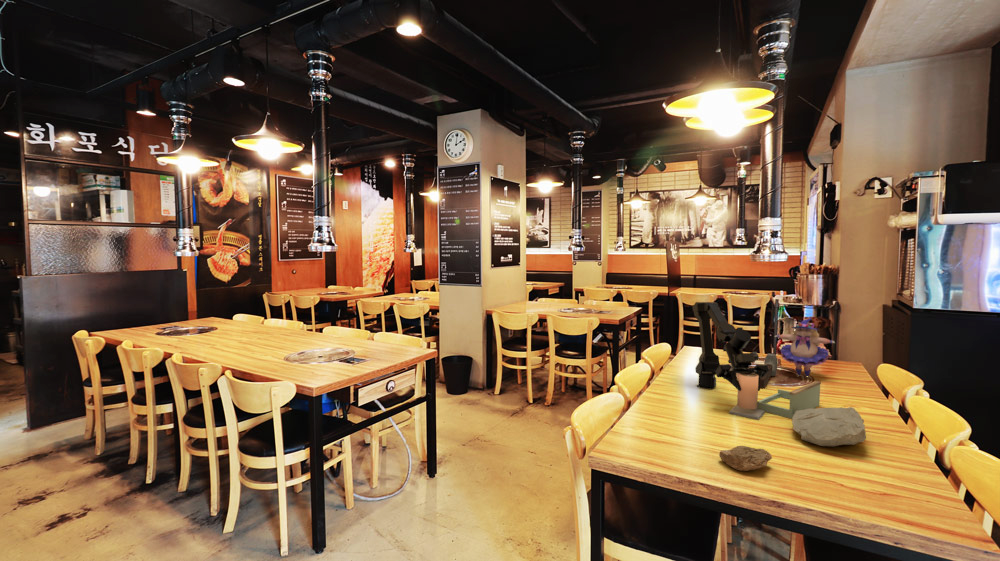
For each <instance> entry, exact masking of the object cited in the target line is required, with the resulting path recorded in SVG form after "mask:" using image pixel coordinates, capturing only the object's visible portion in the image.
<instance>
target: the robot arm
mask: <svg viewBox="0 0 1000 561" xmlns="http://www.w3.org/2000/svg"><path fill="white" fill-rule="evenodd" d="M692 311H693V315H694V317H695V319H696V320H697V321H698V326H699V334H700V345H701V354H700V356H699V357H698V363H697V364H696V366H695V369H694V370H695V374H696V373H697V374H698V384H697V388H702V389H706V390H713V389H716V387H717V378H723V379H724V380H726V381H728V382H729V383H730V384H731V385H732V386H733V387H735V389H737V391H738V390H739V391H741V387H740V384H739V382H738V377H737V374H738V373H740V372H748V373H754V374H757V375H758V376H759V378H758V392H759V391H761V388H760V377H764V376H765V375H766V374H767V372H768V371H769V368H768V366H767V365H765V364H764V363H763V364H761V363H759V364H756V365H755V366H754V367H750V366H752V363H755V362H756V361H758V360H759V359H760V356H759V353H758V352H757V351H752V352H747V353H744V351H743V349H745V348H746V346H747V345H748V344H749V342H750V341H751V339H752V334H750V333H749V331H747V330H745V329H743V326H742V327H735V326H734V325H732V324H730V323H729V322H728V320H727V319H726V317H725V316H724V314H723V312H722V311H721V309H720V307H719V303H718V302H715V301H714V302H713V301H712V302H711V301H696V302H694V304H693V305H692ZM711 320H712V322H713V324H714V327H716V333H715V335H716V337H717V339H718V341H719V342H720V343H725V344H724V346H723V347H722V348H723V350H722V351H723V352H726V355H727V357H728V360H727V362H728V364H725V363H724V364H721V363H720V357H719V355H718V354H716V353H715V352H714V345H713V344H714V343H713V334H712V326H711Z"/></svg>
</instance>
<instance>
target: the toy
mask: <svg viewBox="0 0 1000 561" xmlns="http://www.w3.org/2000/svg"><path fill="white" fill-rule="evenodd" d="M811 320H812V317H809V318H806V319H804V320H802V321H797V326H793V327H792V326H791V327H790V328H792V329H795V331H793V333H791V334H789V333H788V334H786V333H785V334H784V333H782V334H776V335H774V338H777V339H778V338H779V339H781V340H785V341H786V340H787V341H791V342H792V343H791V344H785V345H782V347H781V349H780V353H781V355H780V357H781V358H782V359H783V360H784V361H786V362H789V363H790V364H791V363H793V364H794V366H795V372H796V377H799V376H802V371H804V374H805V376H808V377H810V374H811V373H812V372H811V371H812V370H811V368H812V367H814V366H819V365H823V364H824V363H826V362H827V359H829V357H830V356H829V350H827V349H825V348H821V347H822V346H821V347H820V345H821V344H824V345H827V344H836V342H835V340H833V339H831V340H830V339H829V338H825V337H820V333H818V330H819V328H815V324H814V323H812V322H810V321H811ZM802 367H803V368H802ZM798 375H799V376H798Z"/></svg>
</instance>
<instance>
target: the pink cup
mask: <svg viewBox="0 0 1000 561" xmlns="http://www.w3.org/2000/svg"><path fill="white" fill-rule="evenodd" d="M737 374H738V375H737V376H738V377H737V379H738V382H739V384H740V387H741V391H739V390H738V389H737V397H736V398H737V402H736V405H737V406H739V407H741V408H744V409H757V403H758V401H759V399H758V398H759V397H758V396H759V391H758V378H759V376H758V375H757V374H754V373H748V372H740V373H737Z"/></svg>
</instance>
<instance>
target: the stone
mask: <svg viewBox="0 0 1000 561" xmlns="http://www.w3.org/2000/svg"><path fill="white" fill-rule="evenodd" d="M860 414H861V413H859V411H857V410H856V409H855V408H854V407H852V406H851V407H820V408H819V407H818V408H817V407H816V408H814V409H812V408H809V409H805V410H798V411H797V410H796V411H795V413H794V415H793V417H792V419H791V420H792V422H791V425H792V429H793V431H794V432H796V433H797V434H799V436H801V440H803V442H807V443H810V444H814V445H817V446H821V447H837V446H842V445H843V446H844V445H853V446H854V445H856V444H859V443H864V442H865V441H866V439H867V435H866V434H867V433H866V426H865V424H864V423H865V420H864V418H862V417H861V415H860Z"/></svg>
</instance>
